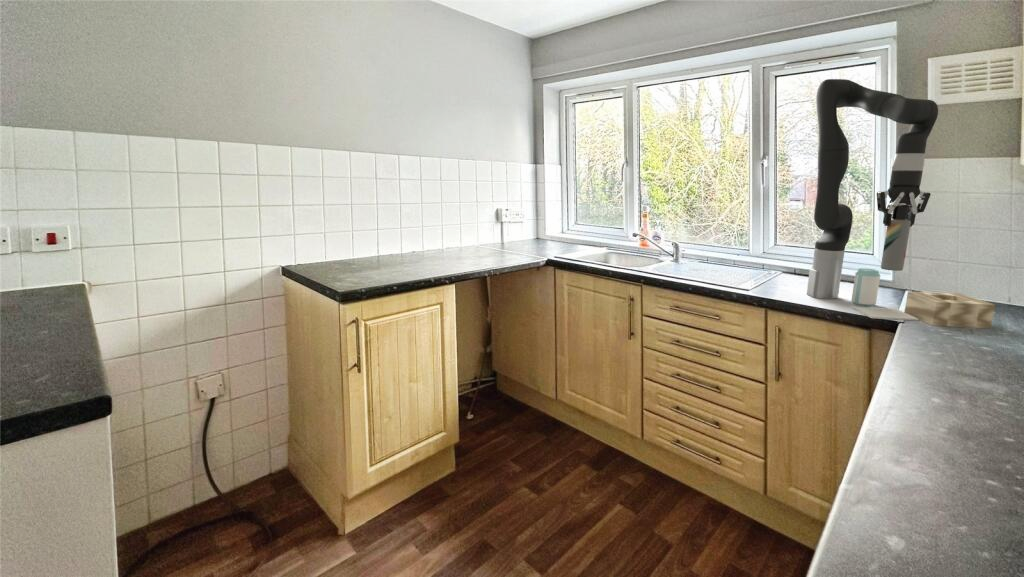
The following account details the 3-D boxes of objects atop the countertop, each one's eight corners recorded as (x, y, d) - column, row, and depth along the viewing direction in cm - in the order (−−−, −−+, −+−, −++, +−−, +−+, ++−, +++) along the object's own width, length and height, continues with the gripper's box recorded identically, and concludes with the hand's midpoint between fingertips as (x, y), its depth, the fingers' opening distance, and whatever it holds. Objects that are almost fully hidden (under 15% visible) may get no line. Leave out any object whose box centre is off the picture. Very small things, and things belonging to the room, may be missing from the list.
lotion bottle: (899, 268, 165) (909, 204, 161) (905, 271, 160) (916, 205, 156) (878, 267, 167) (888, 203, 163) (883, 270, 162) (894, 204, 158)
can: (861, 301, 184) (866, 267, 182) (880, 305, 178) (886, 270, 175) (846, 302, 182) (851, 268, 180) (865, 307, 175) (870, 271, 173)
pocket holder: (932, 325, 154) (936, 302, 153) (904, 312, 168) (907, 291, 167) (990, 328, 151) (995, 304, 150) (956, 315, 166) (961, 293, 164)
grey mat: (871, 318, 161) (871, 316, 161) (852, 308, 174) (852, 306, 174) (918, 320, 159) (919, 319, 159) (895, 310, 172) (896, 308, 171)
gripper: (887, 169, 155) (878, 226, 158) (941, 169, 152) (931, 228, 156) (874, 169, 162) (866, 224, 166) (926, 169, 160) (917, 225, 163)
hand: (898, 226), depth 161 cm, fingers closed on lotion bottle, 5 cm apart
